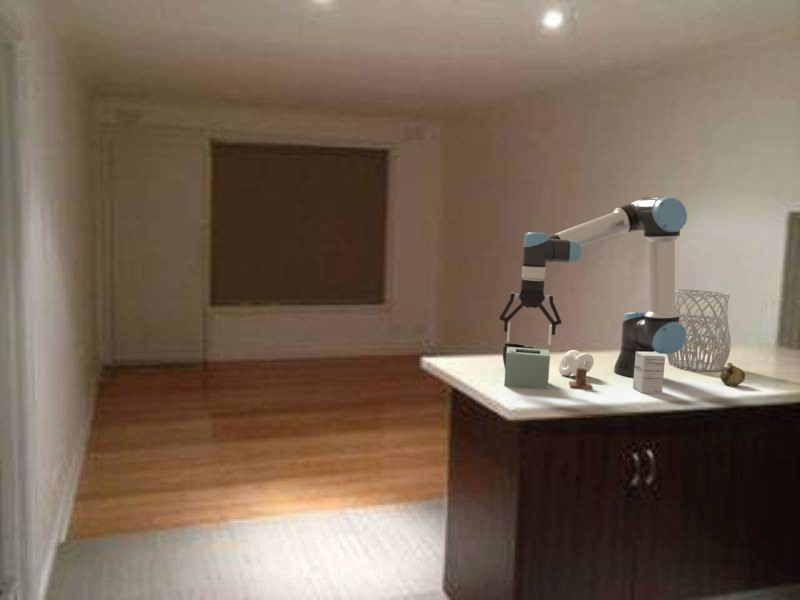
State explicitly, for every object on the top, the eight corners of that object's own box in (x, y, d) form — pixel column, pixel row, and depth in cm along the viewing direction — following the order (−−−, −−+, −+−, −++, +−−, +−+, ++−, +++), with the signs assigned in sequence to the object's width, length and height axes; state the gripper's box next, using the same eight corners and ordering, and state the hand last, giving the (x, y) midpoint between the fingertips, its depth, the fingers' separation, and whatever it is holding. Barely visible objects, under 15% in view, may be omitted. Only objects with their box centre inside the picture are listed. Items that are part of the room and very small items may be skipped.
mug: (537, 373, 270) (539, 346, 269) (509, 374, 266) (510, 347, 265) (525, 368, 278) (527, 343, 277) (497, 369, 273) (499, 343, 272)
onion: (742, 388, 261) (744, 366, 260) (717, 385, 265) (719, 362, 264) (745, 385, 267) (747, 363, 266) (721, 381, 271) (723, 359, 270)
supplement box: (631, 388, 252) (635, 351, 251) (653, 388, 253) (656, 351, 252) (640, 393, 245) (644, 355, 244) (662, 393, 246) (666, 355, 244)
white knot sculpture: (589, 381, 259) (591, 356, 258) (554, 377, 263) (556, 352, 262) (593, 376, 270) (595, 351, 269) (559, 372, 274) (561, 348, 273)
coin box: (546, 381, 255) (548, 350, 254) (547, 389, 244) (550, 355, 242) (505, 378, 258) (507, 346, 256) (504, 385, 246) (506, 352, 245)
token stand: (590, 385, 254) (591, 367, 253) (592, 389, 247) (593, 371, 246) (569, 383, 255) (570, 366, 254) (570, 387, 248) (571, 369, 247)
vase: (710, 375, 283) (717, 295, 280) (651, 363, 301) (658, 289, 298) (739, 369, 299) (746, 294, 296) (682, 358, 317) (688, 288, 314)
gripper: (571, 281, 249) (566, 344, 251) (495, 276, 253) (491, 338, 255) (572, 282, 241) (567, 347, 244) (494, 277, 245) (490, 342, 247)
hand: (528, 343), depth 249 cm, fingers open, 13 cm apart
